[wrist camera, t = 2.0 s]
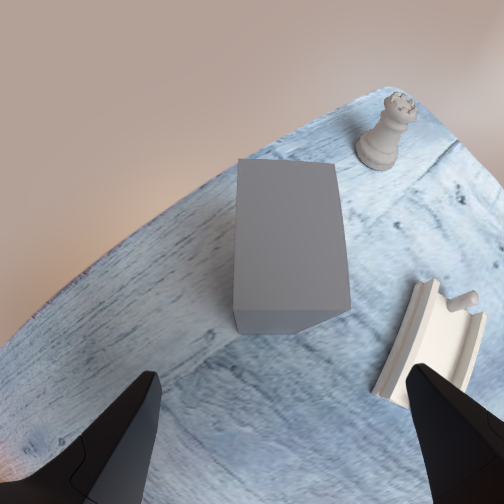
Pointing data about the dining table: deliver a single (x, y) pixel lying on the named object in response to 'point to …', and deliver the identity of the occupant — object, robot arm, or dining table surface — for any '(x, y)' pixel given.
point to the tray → (433, 341)
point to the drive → (288, 247)
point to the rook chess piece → (386, 133)
